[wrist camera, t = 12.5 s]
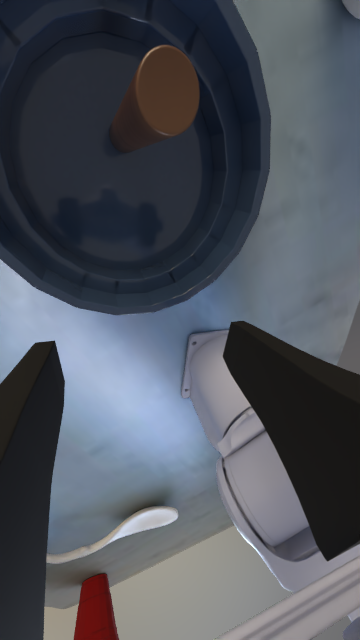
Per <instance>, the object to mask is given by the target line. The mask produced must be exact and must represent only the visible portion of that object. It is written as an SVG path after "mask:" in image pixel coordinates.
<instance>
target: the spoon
mask: <svg viewBox="0 0 360 640" xmlns="http://www.w3.org/2000/svg"><path fill="white" fill-rule="evenodd" d="M177 518H178V510H177V509H176V508H173V507H168V506H154V507H148V508H145V509H142V510H140V511H138V512H136V513H134V514H133V515H131V516H130V517H128V518H127V519H126V520H124V521H123V522H122V523H121V524H120V525H118V526H117V527H116V528H115V529H114V530H113V531H112V532H111V533H110V534H108V535H107V536H106V537H104V538H103V539H101V540H100V541H98V542H96V543H94V544H91V545H88V546H82V547H80V548H78V549H76V550H73V551H70V552H67V553H63V554H50V553H47V557H46V562H48V563H64V562H67V561H70V560H73V559H77V558H80V557H85V556H87V555H88V554H91V553H93V552H95V551H97V550H99V549H101V548H102V547H104V546H106V545H107V544H109V543H110V542H112V541H114V540H116V539H118V538H121V537H124V536H127V535H131V534H134V533H137V532H140V531H144V530H148V529H152V528H156V527H160V526H164V525H167V524H169V523H171V522H173V521H175V520H176V519H177Z"/></svg>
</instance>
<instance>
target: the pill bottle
mask: <svg viewBox="0 0 360 640" xmlns="http://www.w3.org/2000/svg"><path fill="white" fill-rule="evenodd" d="M342 2H343V4H344V6H345V7H346V9H347V10H348V11H349V12H350V13H351V14H352V15H353V16H354V17H356V18H358V19H360V0H342Z"/></svg>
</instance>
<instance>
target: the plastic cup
mask: <svg viewBox="0 0 360 640" xmlns="http://www.w3.org/2000/svg"><path fill="white" fill-rule="evenodd" d="M74 640H119V638H118V634H117V628H116V624H115V618H114V612H113V605H112V599H111V594H110V590H109V583H108V578H107V575H106V574H100V575H96V576H94V577H91V578H89V579H87V580H86V581H84V582H83V583H82V587H81V593H80V601H79V606H78V612H77V620H76V627H75V634H74Z"/></svg>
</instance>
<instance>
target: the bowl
mask: <svg viewBox="0 0 360 640" xmlns="http://www.w3.org/2000/svg"><path fill="white" fill-rule="evenodd" d="M159 45H170V46H173V47H176V48H178V49H179V50H181V51H182V52H183V53H184V54H185V55H186V56H187V57H188V59H189V60H190V62H191V63H192V65H193V67H194V69H195V72H196V74H197V78H198V82H199V90H200V98H199V106H198V111H197V114H196V116H195V119H194V121H193V122H192V124H191V125H190V127H189V128H188V129H187V130H186V131H185V132H183V133H181V134H179V135H177V136H174V137H171V138H168V139H166V140H163V141H160V142H157V143H154V144H151V145H149V146H146V147H143V148H140V149H137V150H134V151H131V152H128V153H123V152H120V151H118V150H117V149H116V148H115V147H114V146H113V144H112V142H111V140H110V136H109V129H110V126H111V123H112V121H113V119H114V117H115V115H116V113H117V111H118V109H119V106H120V104H121V102H122V100H123V98H124V96H125V94H126V92H127V90H128V87H129V85H130V83H131V81H132V79H133V77H134V75H135V73H136V71H137V68H138V66H139V64H140V62H141V60H142V59H143V57H144V56H145V54H146V53H147V52H148V51H149V50H151V49H152V48H154V47H156V46H159ZM256 51H257V49H256V47H255V45H254V42H253V40H252V38H251V36H250V34H249V32H248V30H247V28H246V26H245V24H244V22H243V20H242V18H241V16H240V14H239V12H238V10H237V8H236V6H235V4H234V2H233V0H0V259H1V260H2V261H3V262H5V263H6V264H7V265H8V266H9V267H11V268H12V269H13V270H14V271H15V272H17V273H18V274H19V275H20V276H21V277H23V278H24V279H25V280H26V281H27V282H29V283H30V284H31V285H32V286H33V287H36V288H37V289H39V290H41V291H43V292H45V293H47V294H49V295H51V296H53V297H56V298H58V299H60V300H62V301H64V302H66V303H68V304H70V305H72V306H74V307H78V308H81V309H86V310H91V311H97V312H102V313H107V314H112V315H128V314H141V313H153V312H156V311H159V310H162V309H165V308H168V307H170V306H173V305H176V304H179V303H181V302H184V301H186V300H188V299H190V298H191V297H192V296H194V295H195V294H197V293H198V292H200V291H201V290H202V289H204V288H205V287H207V286H208V285H210V284H211V283H213V282H214V280H216V279H217V278H218V277H219V276H220V274H221V273H222V272H223V271H224V270H225V269H226V267H227V266H228V265H229V264H230V263H231V262H232V261H233V259H234V258H235V257H236V256H237V255H238V254H239V252H240V250H241V248H242V246H243V244H244V243H245V241H246V239H247V237H248V235H249V233H250V231H251V229H252V227H253V225H254V223H255V221H256V219H257V217H258V215H259V211H260V207H261V203H262V199H263V195H264V191H265V187H266V183H267V179H268V175H269V169H270V131H271V115H270V108H269V103H268V99H267V94H266V89H265V84H264V79H263V75H262V70H261V65H260V60H259V56H258V52H256Z"/></svg>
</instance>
